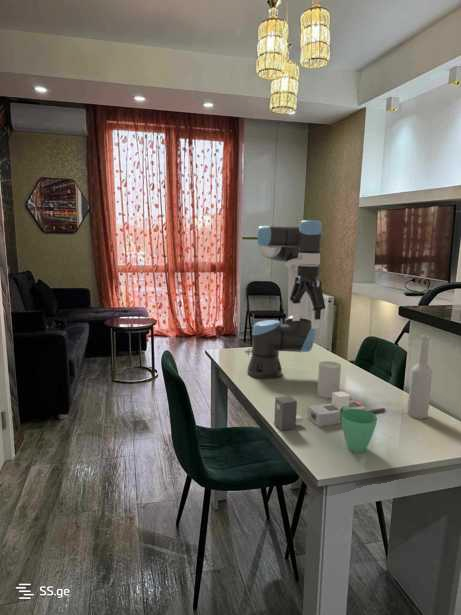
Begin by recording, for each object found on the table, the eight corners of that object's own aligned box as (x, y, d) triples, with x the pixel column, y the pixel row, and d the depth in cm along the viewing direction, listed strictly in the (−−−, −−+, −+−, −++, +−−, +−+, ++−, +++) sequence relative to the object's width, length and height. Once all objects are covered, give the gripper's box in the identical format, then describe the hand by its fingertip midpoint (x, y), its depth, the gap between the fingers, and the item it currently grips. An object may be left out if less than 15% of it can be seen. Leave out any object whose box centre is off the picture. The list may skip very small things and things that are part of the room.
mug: (381, 455, 118) (384, 422, 117) (348, 458, 116) (351, 424, 115) (355, 431, 133) (358, 401, 131) (326, 434, 131) (328, 403, 129)
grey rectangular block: (273, 423, 136) (274, 397, 135) (296, 420, 139) (298, 394, 138) (281, 430, 132) (282, 403, 130) (304, 427, 135) (305, 400, 133)
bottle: (407, 409, 151) (415, 332, 146) (428, 413, 148) (436, 335, 143) (406, 416, 145) (414, 336, 140) (427, 420, 142) (436, 339, 137)
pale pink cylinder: (339, 399, 159) (341, 368, 157) (317, 397, 161) (319, 366, 159) (338, 391, 167) (340, 362, 165) (317, 389, 169) (319, 360, 167)
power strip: (307, 417, 142) (308, 404, 141) (378, 407, 152) (379, 395, 151) (318, 426, 136) (319, 413, 135) (391, 415, 146) (393, 402, 145)
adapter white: (331, 405, 143) (332, 392, 142) (341, 403, 144) (342, 391, 143) (338, 409, 139) (339, 396, 138) (348, 408, 140) (349, 395, 140)
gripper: (282, 262, 159) (280, 318, 163) (318, 268, 136) (314, 332, 140) (300, 262, 162) (297, 317, 165) (338, 268, 139) (334, 331, 142)
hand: (305, 324), depth 153 cm, fingers open, 13 cm apart
